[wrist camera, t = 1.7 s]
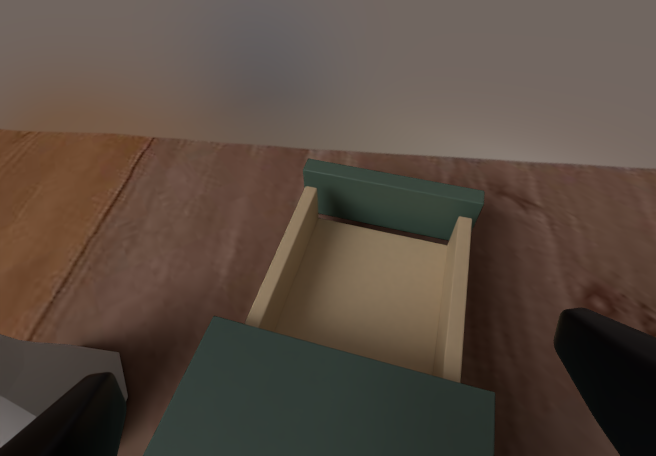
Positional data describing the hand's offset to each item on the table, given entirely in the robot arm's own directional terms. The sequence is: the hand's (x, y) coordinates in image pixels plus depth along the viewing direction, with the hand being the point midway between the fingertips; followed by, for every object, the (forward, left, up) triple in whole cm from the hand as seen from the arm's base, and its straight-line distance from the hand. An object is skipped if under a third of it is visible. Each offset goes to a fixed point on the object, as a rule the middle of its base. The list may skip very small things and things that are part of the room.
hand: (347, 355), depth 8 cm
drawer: (+9, +2, -14) cm, 17 cm away
